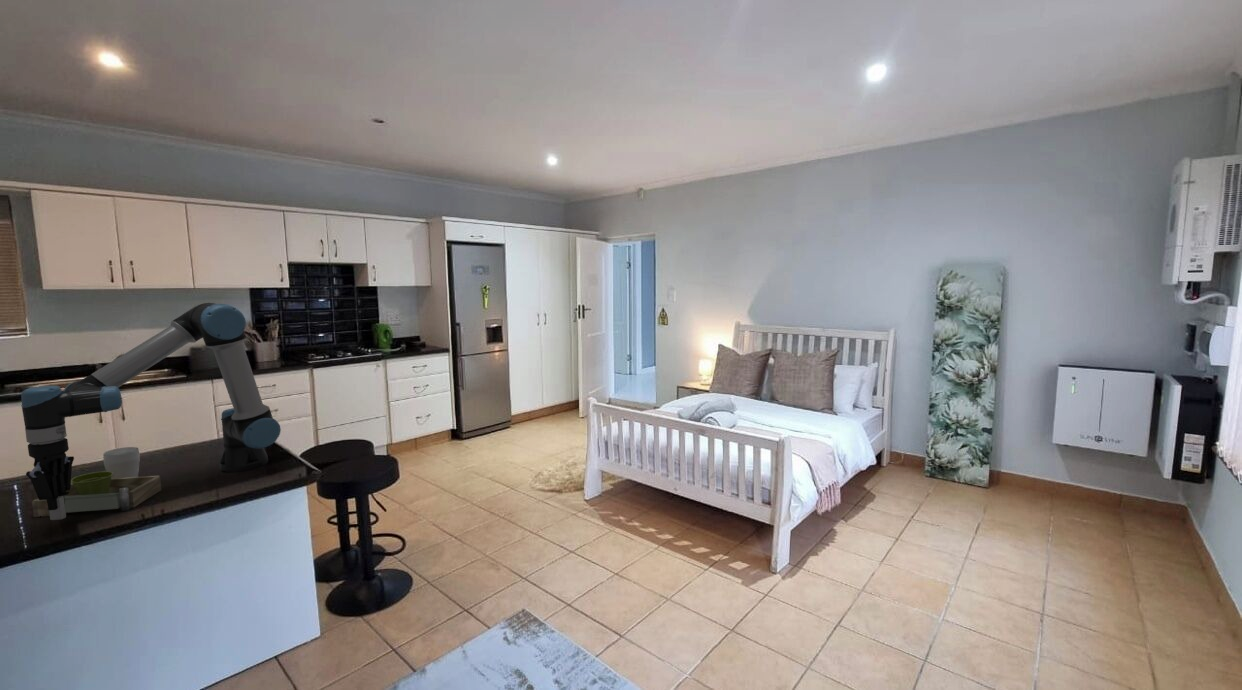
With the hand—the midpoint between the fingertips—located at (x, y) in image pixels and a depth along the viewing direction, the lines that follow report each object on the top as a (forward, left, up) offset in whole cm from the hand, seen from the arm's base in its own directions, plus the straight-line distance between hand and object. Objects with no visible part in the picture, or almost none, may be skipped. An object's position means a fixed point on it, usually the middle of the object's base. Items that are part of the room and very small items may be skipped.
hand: (58, 518), depth 145 cm
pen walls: (0, -16, -2) cm, 16 cm away
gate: (-3, -8, -1) cm, 9 cm away
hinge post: (-11, -8, -2) cm, 14 cm away
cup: (+3, -31, -2) cm, 31 cm away
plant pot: (+2, -16, -2) cm, 16 cm away
